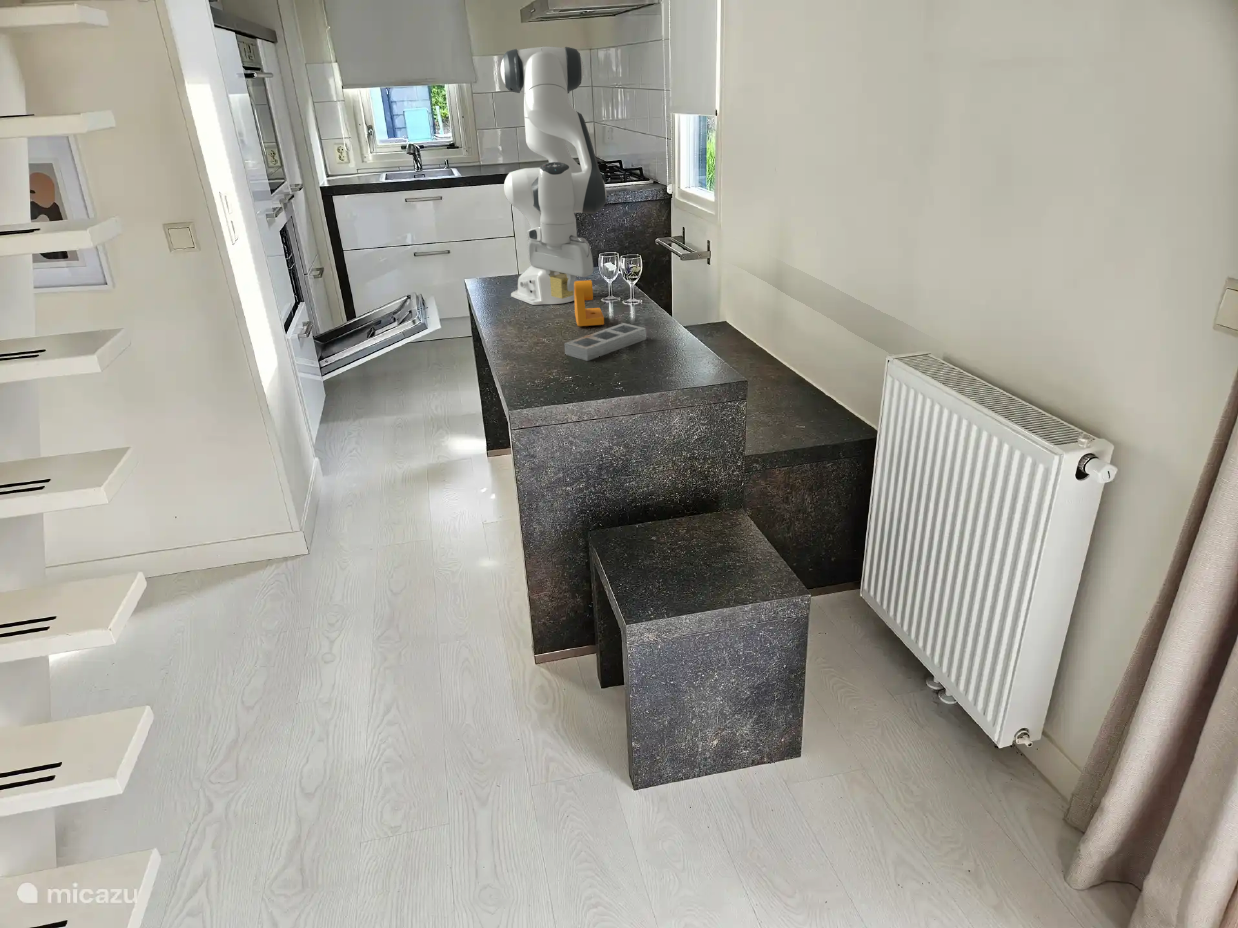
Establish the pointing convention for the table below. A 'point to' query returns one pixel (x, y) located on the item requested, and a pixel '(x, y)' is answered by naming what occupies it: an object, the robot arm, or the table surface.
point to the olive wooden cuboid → (559, 286)
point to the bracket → (584, 316)
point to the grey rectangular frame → (605, 341)
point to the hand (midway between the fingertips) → (562, 288)
